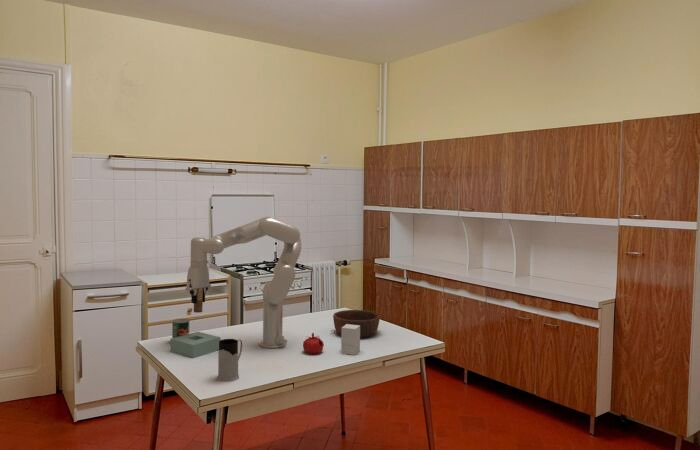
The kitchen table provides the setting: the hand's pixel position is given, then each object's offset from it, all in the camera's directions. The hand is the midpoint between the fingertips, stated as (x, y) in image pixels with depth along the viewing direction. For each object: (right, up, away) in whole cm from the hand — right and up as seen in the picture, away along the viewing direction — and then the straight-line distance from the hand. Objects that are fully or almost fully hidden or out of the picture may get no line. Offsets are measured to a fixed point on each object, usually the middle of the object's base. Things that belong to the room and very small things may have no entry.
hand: (198, 302), depth 251 cm
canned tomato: (-12, -22, +12) cm, 28 cm away
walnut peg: (0, -4, 0) cm, 4 cm away
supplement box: (+72, -24, +2) cm, 76 cm away
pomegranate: (+54, -24, +1) cm, 59 cm away
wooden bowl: (+75, -22, +35) cm, 86 cm away
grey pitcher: (+23, -26, -32) cm, 47 cm away
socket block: (-1, -23, 0) cm, 23 cm away
